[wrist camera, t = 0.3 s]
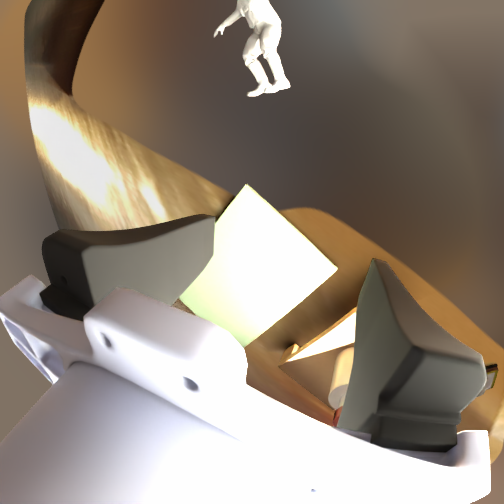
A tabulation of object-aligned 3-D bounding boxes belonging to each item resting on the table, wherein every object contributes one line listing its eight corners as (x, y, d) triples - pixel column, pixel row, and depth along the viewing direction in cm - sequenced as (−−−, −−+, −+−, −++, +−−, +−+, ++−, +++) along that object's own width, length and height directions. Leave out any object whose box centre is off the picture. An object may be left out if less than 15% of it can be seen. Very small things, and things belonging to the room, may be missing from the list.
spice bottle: (351, 382, 23) (343, 441, 17) (326, 360, 23) (312, 420, 17) (383, 363, 21) (383, 424, 15) (358, 339, 21) (353, 401, 15)
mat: (239, 349, 29) (237, 352, 29) (169, 286, 29) (167, 287, 29) (337, 268, 22) (337, 269, 22) (247, 183, 23) (245, 184, 22)
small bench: (336, 393, 27) (332, 410, 25) (284, 350, 27) (277, 366, 25) (429, 334, 21) (434, 350, 19) (379, 277, 21) (381, 291, 19)
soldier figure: (230, 102, 22) (185, -11, 15) (276, 87, 23) (235, -19, 16) (281, 92, 15) (219, -57, 9) (335, 77, 16) (281, -57, 10)
